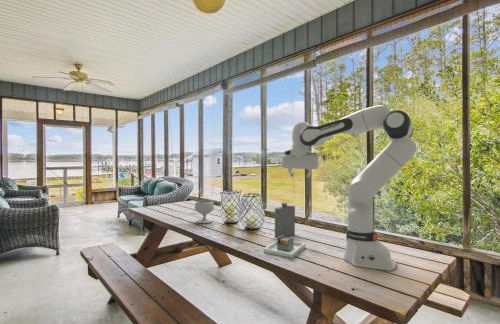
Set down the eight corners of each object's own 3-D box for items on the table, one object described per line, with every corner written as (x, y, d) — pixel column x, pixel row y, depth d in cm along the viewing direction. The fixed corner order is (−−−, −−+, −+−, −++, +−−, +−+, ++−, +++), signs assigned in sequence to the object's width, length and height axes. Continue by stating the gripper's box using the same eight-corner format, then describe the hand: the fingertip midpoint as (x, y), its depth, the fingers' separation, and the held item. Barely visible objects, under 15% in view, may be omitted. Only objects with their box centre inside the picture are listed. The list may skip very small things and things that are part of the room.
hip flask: (277, 238, 162) (277, 205, 162) (272, 237, 166) (272, 204, 165) (295, 234, 172) (296, 202, 172) (290, 232, 175) (291, 201, 175)
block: (290, 246, 143) (290, 239, 143) (287, 249, 140) (287, 241, 140) (283, 245, 145) (283, 237, 145) (280, 247, 142) (280, 239, 142)
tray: (305, 247, 147) (305, 243, 147) (291, 259, 131) (291, 254, 131) (279, 243, 155) (279, 238, 155) (263, 253, 138) (263, 248, 138)
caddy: (293, 248, 144) (293, 236, 144) (288, 251, 138) (288, 239, 138) (282, 245, 147) (282, 234, 147) (276, 249, 142) (277, 237, 141)
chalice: (216, 220, 208) (216, 200, 207) (209, 224, 194) (209, 203, 194) (199, 219, 211) (199, 199, 211) (191, 223, 197) (191, 202, 197)
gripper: (320, 152, 150) (320, 177, 151) (285, 152, 161) (285, 175, 161) (316, 152, 145) (316, 178, 145) (281, 152, 156) (280, 176, 156)
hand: (299, 177), depth 153 cm, fingers open, 8 cm apart
